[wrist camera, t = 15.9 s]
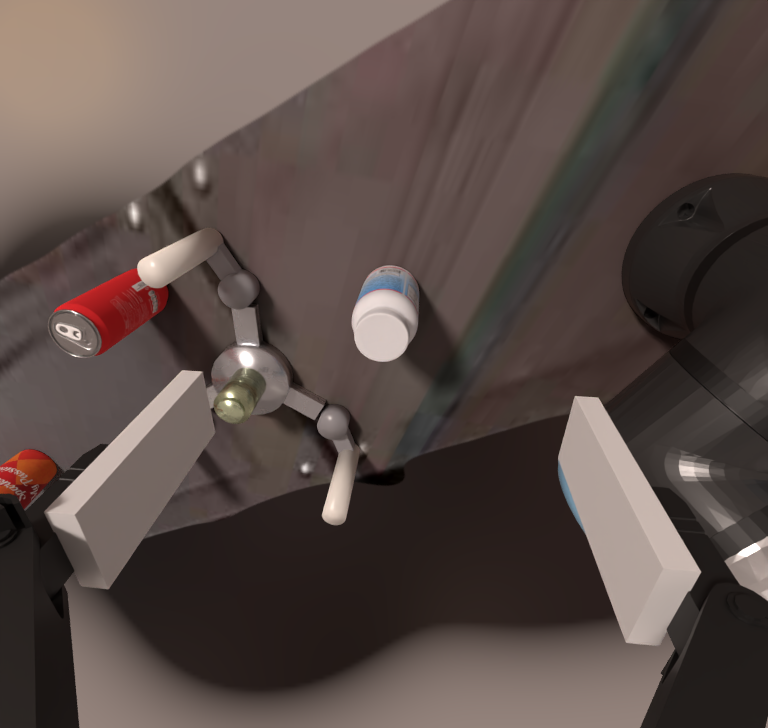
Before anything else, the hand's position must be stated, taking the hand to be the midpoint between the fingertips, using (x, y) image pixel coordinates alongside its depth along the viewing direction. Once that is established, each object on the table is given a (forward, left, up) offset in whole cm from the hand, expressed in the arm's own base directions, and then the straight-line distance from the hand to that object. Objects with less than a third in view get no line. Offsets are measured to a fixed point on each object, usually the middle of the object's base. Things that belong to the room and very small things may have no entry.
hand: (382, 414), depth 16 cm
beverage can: (+29, +8, -32) cm, 44 cm away
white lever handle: (+19, +5, -31) cm, 37 cm away
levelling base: (+18, +16, -32) cm, 40 cm away
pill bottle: (+2, +7, -32) cm, 33 cm away
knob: (+8, +26, -31) cm, 41 cm away
